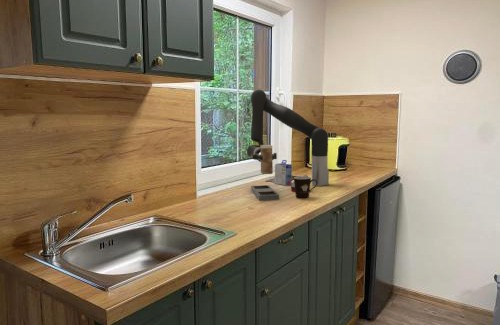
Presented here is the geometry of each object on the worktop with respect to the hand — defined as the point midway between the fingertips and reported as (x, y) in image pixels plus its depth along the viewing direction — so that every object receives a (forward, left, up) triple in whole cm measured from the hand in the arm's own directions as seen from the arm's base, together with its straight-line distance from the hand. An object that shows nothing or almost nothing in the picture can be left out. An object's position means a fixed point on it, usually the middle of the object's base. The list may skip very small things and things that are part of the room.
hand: (267, 157), depth 182 cm
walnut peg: (0, -3, -8) cm, 8 cm away
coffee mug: (-19, 0, -21) cm, 28 cm away
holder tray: (0, -11, -21) cm, 23 cm away
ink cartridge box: (-17, -38, -21) cm, 46 cm away
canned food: (-21, -16, -21) cm, 34 cm away
